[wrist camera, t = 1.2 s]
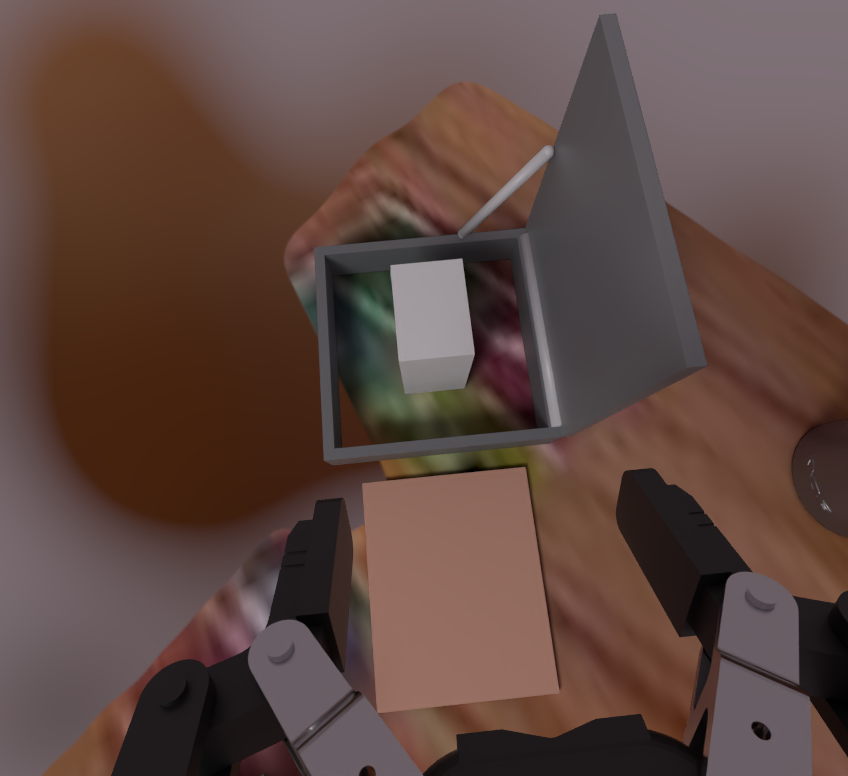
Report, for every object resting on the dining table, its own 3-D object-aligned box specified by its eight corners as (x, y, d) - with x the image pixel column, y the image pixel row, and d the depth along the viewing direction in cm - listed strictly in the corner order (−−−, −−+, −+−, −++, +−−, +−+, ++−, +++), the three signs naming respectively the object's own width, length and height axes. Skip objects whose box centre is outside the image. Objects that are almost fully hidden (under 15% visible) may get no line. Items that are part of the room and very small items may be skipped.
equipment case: (526, 249, 43) (616, 13, 23) (559, 442, 39) (707, 365, 18) (323, 268, 43) (227, 45, 22) (333, 464, 38) (225, 412, 18)
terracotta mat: (524, 467, 38) (525, 466, 38) (558, 691, 34) (559, 693, 34) (362, 483, 38) (362, 483, 38) (377, 710, 34) (377, 713, 34)
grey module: (455, 306, 42) (463, 253, 33) (465, 388, 40) (476, 353, 31) (396, 312, 42) (388, 260, 33) (404, 394, 40) (397, 361, 31)
